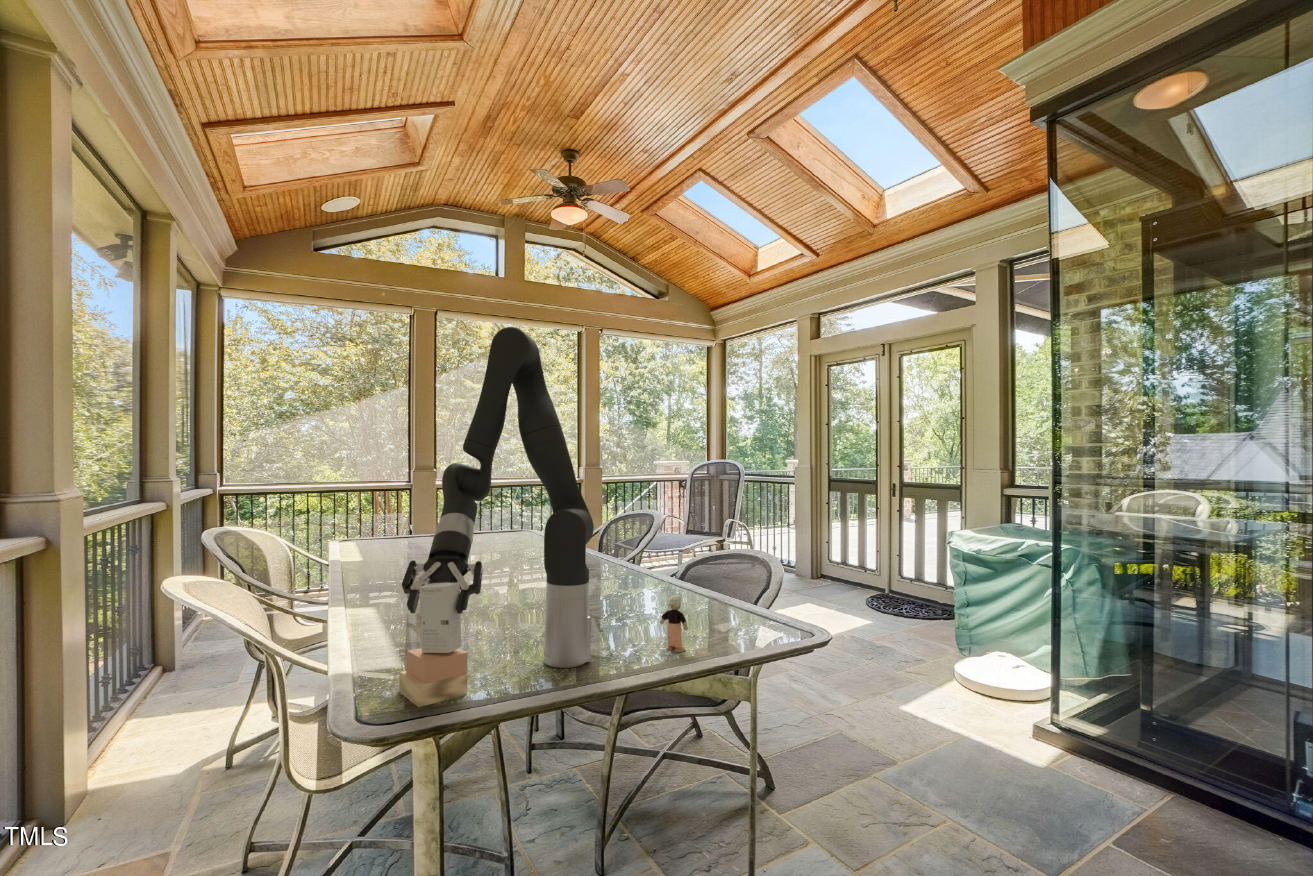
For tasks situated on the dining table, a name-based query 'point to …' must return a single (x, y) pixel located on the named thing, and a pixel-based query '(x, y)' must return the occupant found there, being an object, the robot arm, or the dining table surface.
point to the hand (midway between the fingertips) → (435, 611)
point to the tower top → (436, 665)
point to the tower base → (431, 689)
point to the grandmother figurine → (674, 624)
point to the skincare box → (440, 617)
